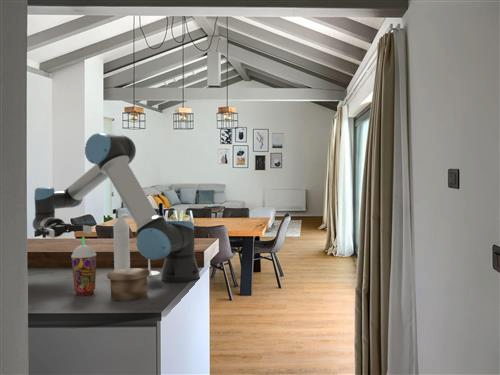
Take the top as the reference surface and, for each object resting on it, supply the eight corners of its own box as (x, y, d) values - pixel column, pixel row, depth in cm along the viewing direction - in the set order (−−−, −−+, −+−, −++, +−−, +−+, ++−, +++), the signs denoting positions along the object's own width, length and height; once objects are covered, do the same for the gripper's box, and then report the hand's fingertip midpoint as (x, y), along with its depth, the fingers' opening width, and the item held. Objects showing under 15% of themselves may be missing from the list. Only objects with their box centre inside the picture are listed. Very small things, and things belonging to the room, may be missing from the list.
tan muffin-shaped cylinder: (146, 288, 163) (146, 266, 162) (153, 298, 150) (152, 274, 149) (106, 293, 157) (105, 270, 157) (109, 303, 144) (108, 279, 144)
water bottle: (112, 272, 190) (110, 214, 189) (126, 270, 194) (124, 213, 193) (120, 276, 183) (118, 215, 182) (135, 273, 187) (133, 214, 186)
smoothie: (82, 297, 152) (80, 239, 151) (67, 294, 156) (65, 237, 156) (102, 292, 159) (101, 236, 158) (87, 289, 163) (85, 234, 163)
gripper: (83, 233, 189) (105, 238, 173) (19, 239, 172) (36, 246, 156) (83, 215, 188) (104, 219, 172) (19, 220, 172) (36, 224, 156)
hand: (72, 232), depth 164 cm, fingers open, 13 cm apart
